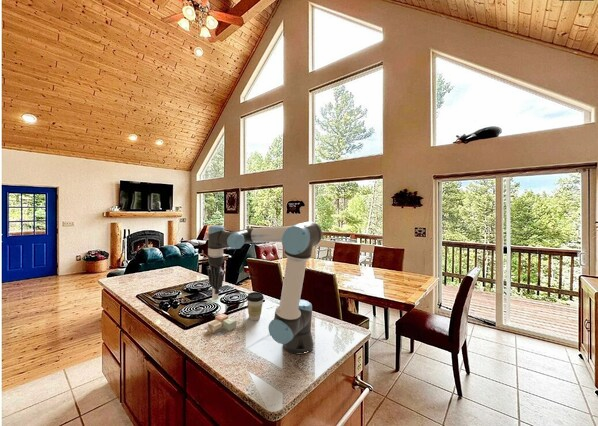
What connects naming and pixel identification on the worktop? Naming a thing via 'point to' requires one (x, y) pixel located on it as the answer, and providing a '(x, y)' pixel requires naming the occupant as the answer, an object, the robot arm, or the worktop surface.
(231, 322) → the sage block
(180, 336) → the worktop surface
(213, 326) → the birch block
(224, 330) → the square tile
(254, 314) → the coffee cup
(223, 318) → the terracotta block
